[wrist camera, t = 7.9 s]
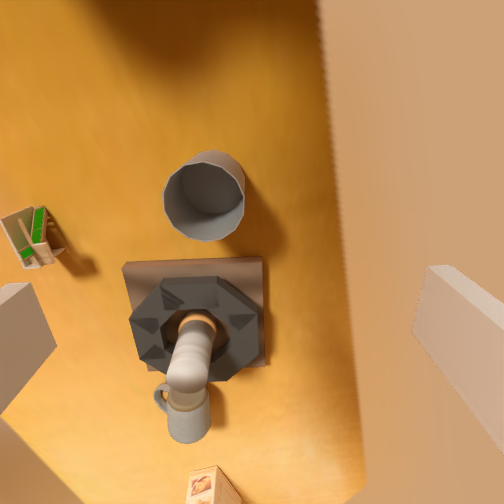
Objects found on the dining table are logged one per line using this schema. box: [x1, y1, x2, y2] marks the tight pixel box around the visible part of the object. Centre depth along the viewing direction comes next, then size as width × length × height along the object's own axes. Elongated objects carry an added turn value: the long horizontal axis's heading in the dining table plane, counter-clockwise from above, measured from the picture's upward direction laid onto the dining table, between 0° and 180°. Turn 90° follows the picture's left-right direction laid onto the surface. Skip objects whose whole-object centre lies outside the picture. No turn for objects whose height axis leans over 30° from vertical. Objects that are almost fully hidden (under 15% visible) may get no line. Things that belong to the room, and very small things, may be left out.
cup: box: [162, 150, 245, 242], centre depth 34 cm, size 8×8×10 cm
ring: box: [129, 276, 259, 382], centre depth 44 cm, size 18×18×2 cm
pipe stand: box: [122, 256, 265, 394], centre depth 42 cm, size 20×20×13 cm
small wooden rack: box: [0, 206, 65, 270], centre depth 38 cm, size 4×7×8 cm, turn 7°
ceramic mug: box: [154, 383, 211, 444], centre depth 52 cm, size 11×8×8 cm
